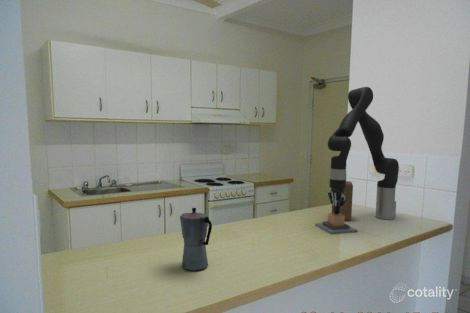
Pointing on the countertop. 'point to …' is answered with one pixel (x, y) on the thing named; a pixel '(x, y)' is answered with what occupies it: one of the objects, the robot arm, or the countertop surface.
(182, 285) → the countertop surface
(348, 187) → the wooden block
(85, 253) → the countertop surface
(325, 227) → the socket board
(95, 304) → the countertop surface
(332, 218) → the brick
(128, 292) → the countertop surface
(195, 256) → the moka pot
